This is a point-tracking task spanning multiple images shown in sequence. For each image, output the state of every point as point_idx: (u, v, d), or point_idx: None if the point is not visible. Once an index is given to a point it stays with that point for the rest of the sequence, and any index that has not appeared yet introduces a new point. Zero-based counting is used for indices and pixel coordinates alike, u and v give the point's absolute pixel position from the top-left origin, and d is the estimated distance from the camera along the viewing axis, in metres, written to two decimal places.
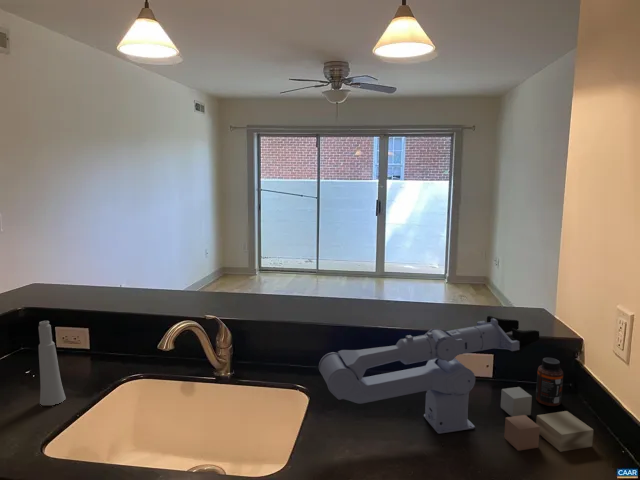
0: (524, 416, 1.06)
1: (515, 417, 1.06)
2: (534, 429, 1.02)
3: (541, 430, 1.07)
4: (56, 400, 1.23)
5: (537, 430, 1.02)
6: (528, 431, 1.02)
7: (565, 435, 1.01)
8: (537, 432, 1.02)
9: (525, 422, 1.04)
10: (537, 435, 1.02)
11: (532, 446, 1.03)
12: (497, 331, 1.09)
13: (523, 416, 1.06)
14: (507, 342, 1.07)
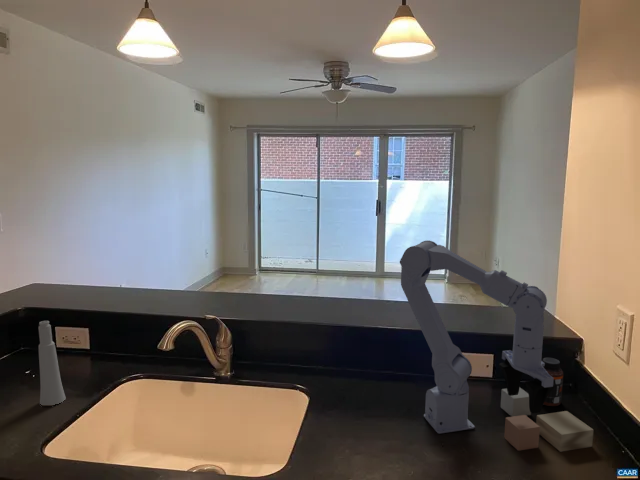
0: (524, 416, 1.06)
1: (515, 417, 1.06)
2: (534, 429, 1.02)
3: (541, 430, 1.07)
4: (56, 400, 1.23)
5: (537, 430, 1.02)
6: (528, 431, 1.02)
7: (565, 435, 1.01)
8: (537, 432, 1.02)
9: (525, 422, 1.04)
10: (537, 435, 1.02)
11: (532, 446, 1.03)
12: (540, 365, 1.00)
13: (523, 416, 1.06)
14: None
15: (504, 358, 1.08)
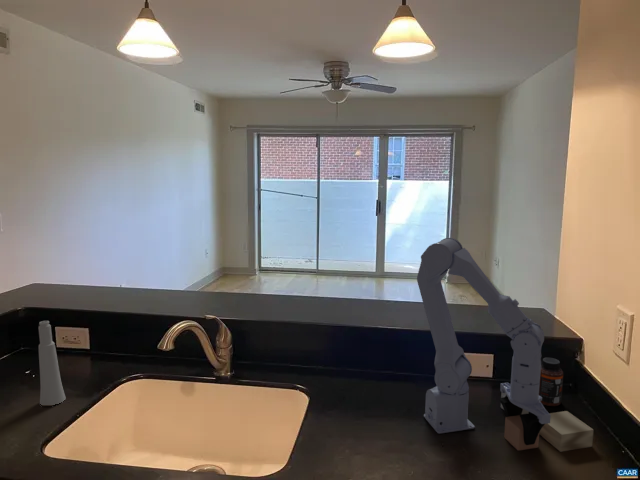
0: None
1: (515, 417, 1.06)
2: None
3: (541, 430, 1.07)
4: (56, 400, 1.23)
5: None
6: None
7: (565, 435, 1.01)
8: None
9: None
10: None
11: (532, 446, 1.03)
12: (538, 400, 1.01)
13: None
14: (540, 411, 0.98)
15: (502, 391, 1.09)
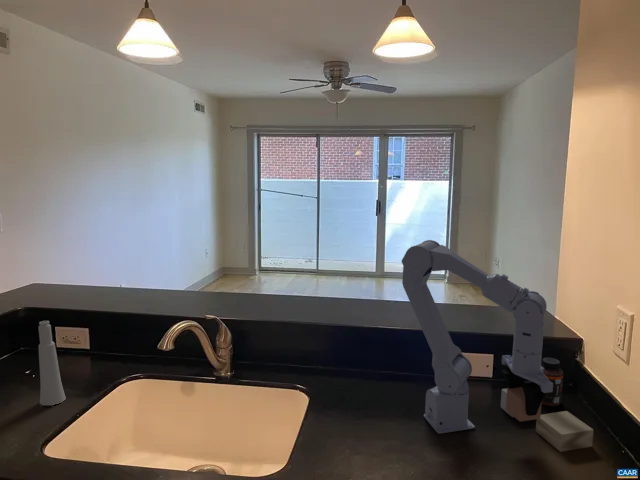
0: None
1: (516, 389, 1.05)
2: None
3: (541, 430, 1.07)
4: (56, 400, 1.23)
5: None
6: None
7: (565, 435, 1.01)
8: None
9: None
10: None
11: (534, 417, 1.01)
12: (540, 370, 1.00)
13: None
14: (543, 380, 0.97)
15: (504, 363, 1.08)
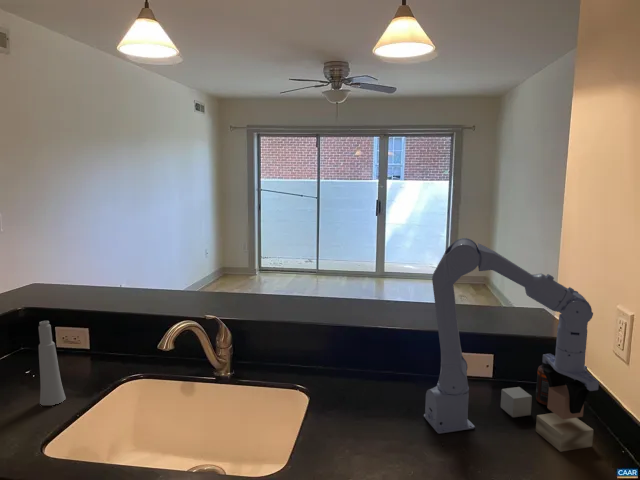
0: None
1: (558, 387, 1.06)
2: None
3: (541, 430, 1.07)
4: (56, 400, 1.23)
5: None
6: None
7: (565, 435, 1.01)
8: None
9: None
10: None
11: (577, 415, 1.03)
12: (584, 369, 1.01)
13: (566, 386, 1.06)
14: None
15: (545, 361, 1.09)
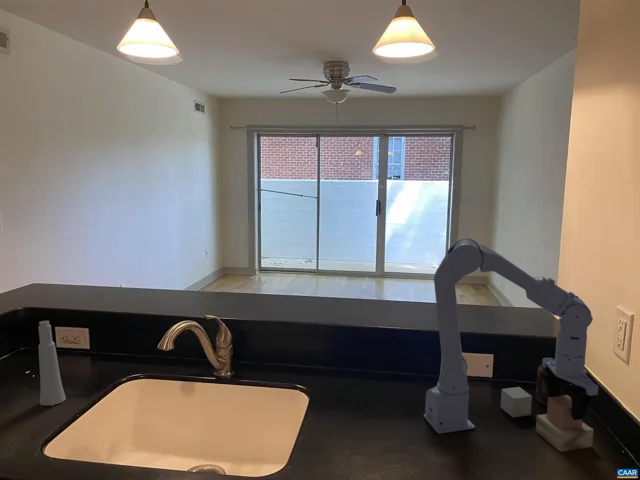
0: (566, 396, 1.07)
1: (557, 397, 1.06)
2: None
3: (541, 430, 1.07)
4: (56, 400, 1.23)
5: None
6: None
7: (565, 435, 1.01)
8: None
9: (568, 402, 1.04)
10: None
11: (576, 425, 1.03)
12: (583, 373, 1.02)
13: (565, 396, 1.07)
14: None
15: (544, 366, 1.09)
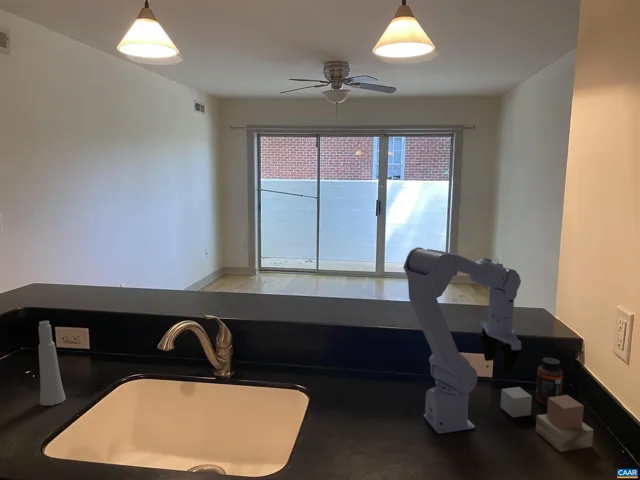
0: (566, 396, 1.07)
1: (557, 397, 1.06)
2: (578, 408, 1.02)
3: (541, 430, 1.07)
4: (56, 400, 1.23)
5: (581, 409, 1.03)
6: (573, 410, 1.02)
7: (565, 435, 1.01)
8: (581, 411, 1.03)
9: (568, 402, 1.04)
10: (581, 414, 1.03)
11: (576, 425, 1.03)
12: (511, 332, 1.16)
13: (565, 396, 1.07)
14: None
15: (482, 328, 1.24)
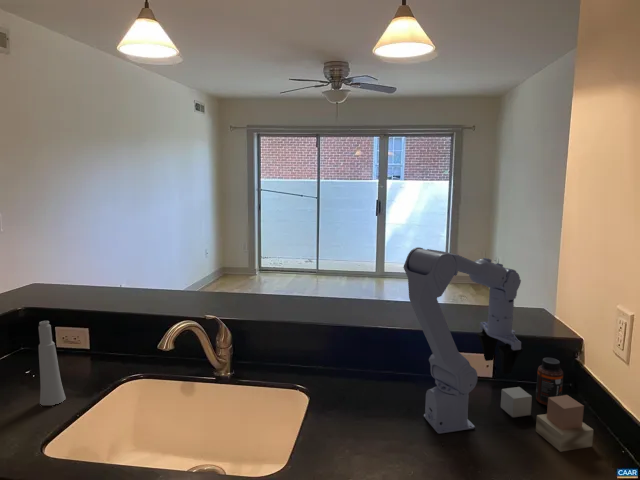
0: (566, 396, 1.07)
1: (557, 397, 1.06)
2: (578, 408, 1.02)
3: (541, 430, 1.07)
4: (56, 400, 1.23)
5: (581, 409, 1.03)
6: (573, 410, 1.02)
7: (565, 435, 1.01)
8: (581, 411, 1.03)
9: (568, 402, 1.04)
10: (581, 414, 1.03)
11: (576, 425, 1.03)
12: (511, 332, 1.16)
13: (565, 396, 1.07)
14: None
15: (481, 328, 1.24)
